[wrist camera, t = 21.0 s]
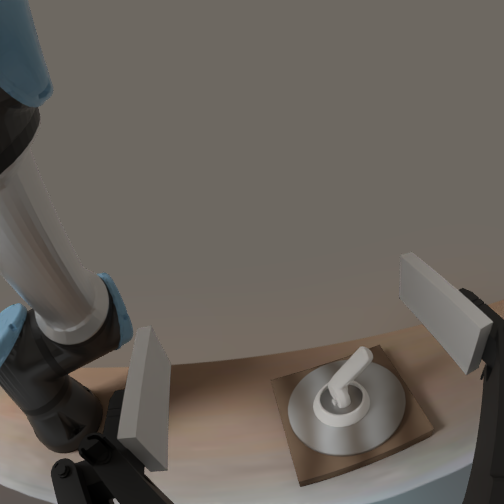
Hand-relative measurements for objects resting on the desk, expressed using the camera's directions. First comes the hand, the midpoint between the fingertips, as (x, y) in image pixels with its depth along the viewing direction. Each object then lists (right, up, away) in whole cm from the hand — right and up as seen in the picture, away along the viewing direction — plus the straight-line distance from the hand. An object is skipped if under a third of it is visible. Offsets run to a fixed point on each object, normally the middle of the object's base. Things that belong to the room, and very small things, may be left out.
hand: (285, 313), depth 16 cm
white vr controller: (+10, -17, +23) cm, 30 cm away
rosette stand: (+12, -20, +24) cm, 33 cm away
